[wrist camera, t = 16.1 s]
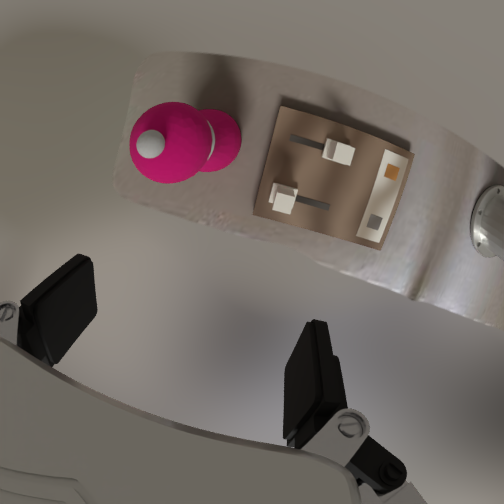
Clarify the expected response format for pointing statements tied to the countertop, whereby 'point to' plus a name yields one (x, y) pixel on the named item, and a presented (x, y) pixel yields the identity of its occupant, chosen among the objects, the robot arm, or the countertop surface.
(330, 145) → the tab
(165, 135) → the pepper mill
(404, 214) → the countertop surface
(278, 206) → the tab
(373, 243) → the switch board
